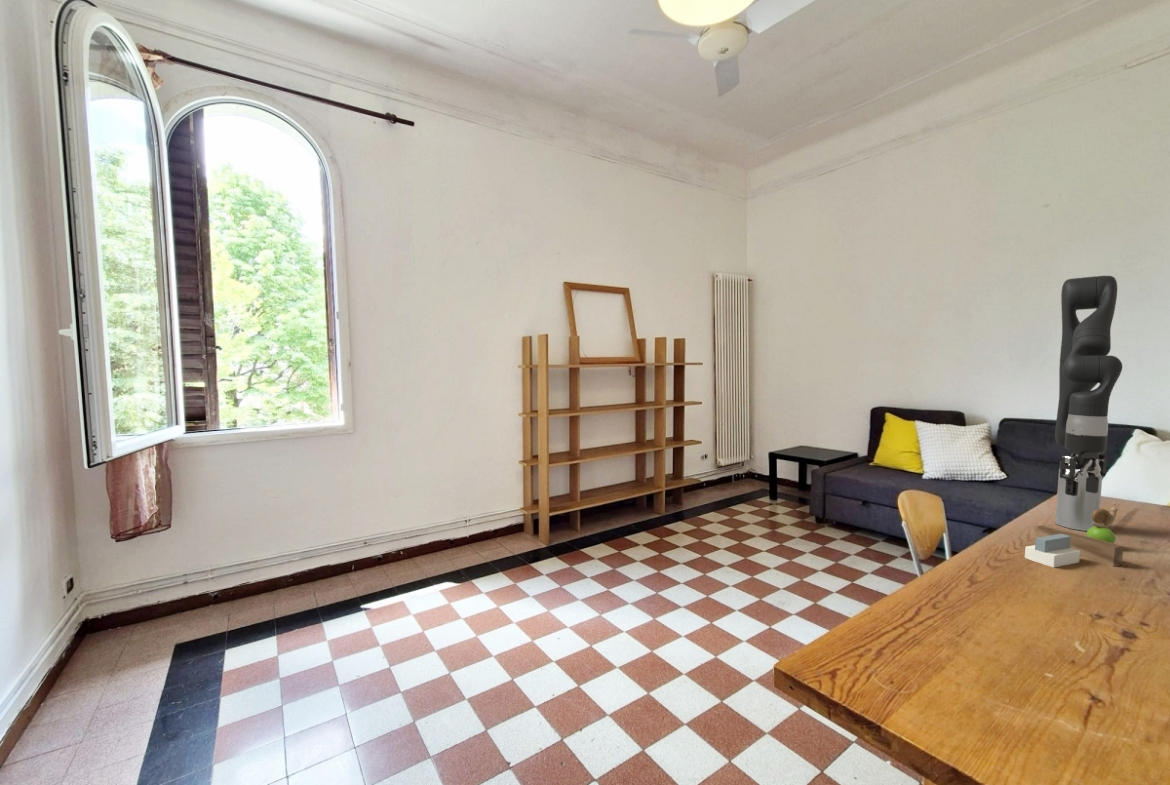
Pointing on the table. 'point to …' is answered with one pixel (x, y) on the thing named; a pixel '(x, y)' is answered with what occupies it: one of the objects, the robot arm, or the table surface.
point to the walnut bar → (1088, 546)
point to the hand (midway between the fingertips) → (1081, 493)
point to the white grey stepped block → (1053, 551)
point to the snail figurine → (1103, 524)
